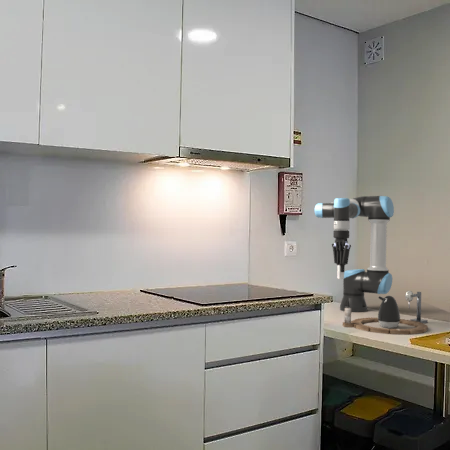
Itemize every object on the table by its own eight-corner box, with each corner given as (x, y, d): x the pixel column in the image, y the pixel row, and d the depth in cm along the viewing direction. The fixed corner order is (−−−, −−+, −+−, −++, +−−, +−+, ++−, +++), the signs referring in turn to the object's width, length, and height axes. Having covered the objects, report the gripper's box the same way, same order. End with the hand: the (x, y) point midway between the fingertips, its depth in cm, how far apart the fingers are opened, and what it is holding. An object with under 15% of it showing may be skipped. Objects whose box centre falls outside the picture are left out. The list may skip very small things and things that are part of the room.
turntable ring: (336, 319, 279) (336, 303, 279) (412, 321, 279) (412, 304, 279) (351, 333, 245) (351, 314, 245) (438, 334, 245) (438, 315, 245)
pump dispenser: (382, 324, 269) (383, 293, 269) (403, 327, 263) (403, 295, 263) (373, 327, 261) (374, 295, 261) (394, 330, 255) (395, 297, 255)
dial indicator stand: (417, 321, 280) (417, 288, 280) (427, 323, 275) (428, 290, 275) (400, 323, 272) (401, 290, 272) (411, 325, 267) (411, 291, 267)
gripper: (327, 229, 271) (326, 277, 272) (342, 230, 259) (341, 280, 259) (340, 229, 274) (339, 277, 274) (356, 230, 262) (355, 279, 262)
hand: (340, 278), depth 267 cm, fingers closed
